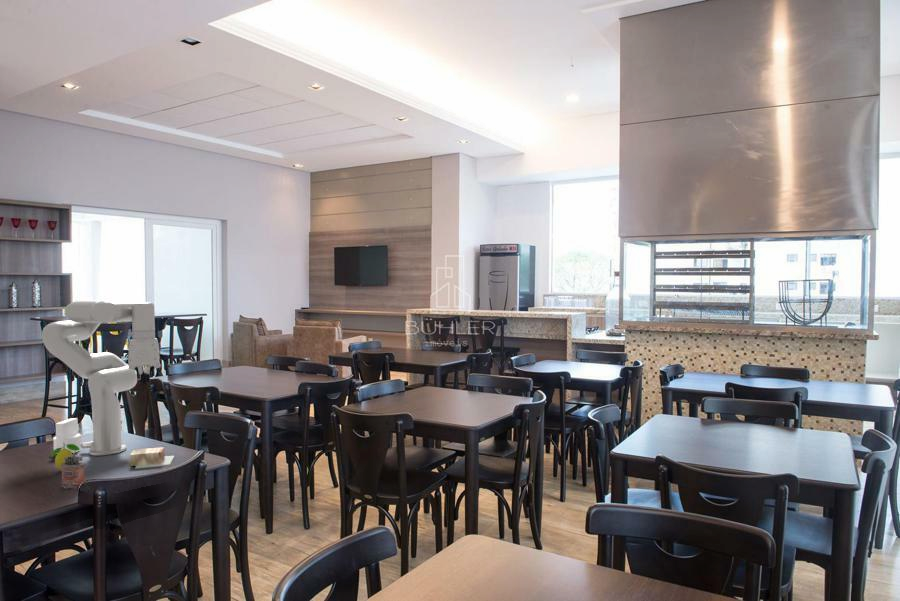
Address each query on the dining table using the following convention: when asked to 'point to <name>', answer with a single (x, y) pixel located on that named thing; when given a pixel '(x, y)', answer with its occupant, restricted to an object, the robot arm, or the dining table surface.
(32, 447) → the dining table surface
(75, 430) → the cylinder with rectangular tab
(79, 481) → the small potted plant
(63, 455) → the lemon
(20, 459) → the dining table surface
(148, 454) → the maple block
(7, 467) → the dining table surface
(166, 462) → the pale green square plate
